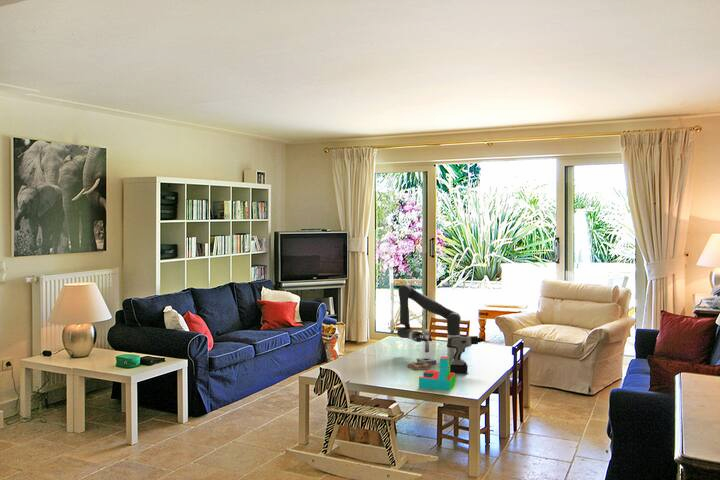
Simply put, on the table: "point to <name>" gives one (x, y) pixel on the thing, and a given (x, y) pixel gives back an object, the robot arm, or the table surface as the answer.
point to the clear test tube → (427, 340)
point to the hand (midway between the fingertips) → (429, 340)
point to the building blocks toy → (438, 377)
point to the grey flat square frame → (427, 360)
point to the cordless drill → (461, 351)
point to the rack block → (419, 365)
